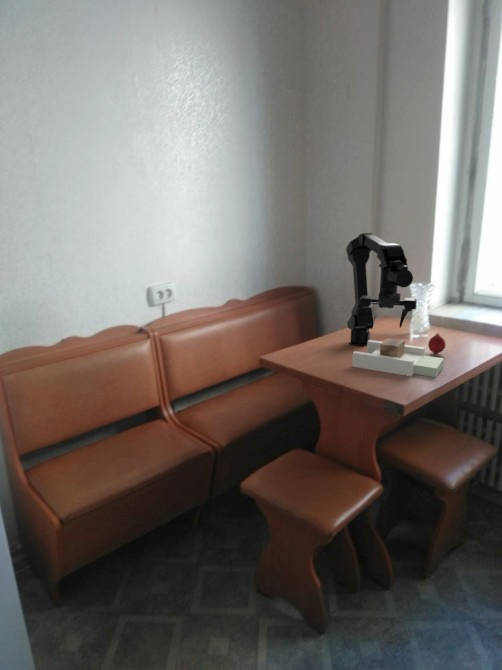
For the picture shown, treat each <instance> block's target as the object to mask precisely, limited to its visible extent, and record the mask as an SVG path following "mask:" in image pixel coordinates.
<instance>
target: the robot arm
mask: <svg viewBox="0 0 502 670" xmlns="http://www.w3.org/2000/svg"><path fill="white" fill-rule="evenodd" d="M345 252H346V255H347V260H348V261H349V263H350V264H351V266H352V273H353V274H352V276H353V288H354V289H353V290H354V302H355V303H354V306H353V307H352V310H351V315H350V318H349V319H348V321H347V323H346V324H347V328H348V329H349V330H350V341H349V342H348V345H353V346H360V347H367V341H368V340H371V332H370V329H371V330H372V329H373V328H374V325H375V320H376V317H375V316H376V315H375V309H374V305H378V308H380V309H385V308H387V309H393V308H394V306H401V307H402V312H401V315H400V321H399V328H401V327H402V326H403V323H404V320H405V318H406V317H407V314H408V313H409V312H412V311H413V310H416V309H417V301H418V299H416V298H415V297H404V299H401V293H400V292H399V293H398V287H399V288H408V287H409V286H411V284H412V283H413V280H414V276H413V273H412V272H411V271H410V270H408V268H409V266H408V259H407V257H406V255H405V251H404V248H403V247H402V245H401V244H399V243H391V242H387V241H385V240H383V239H382V238H380V237H379V236H376V235H375V233H372V232H362V233H360V234H358V236H357V237H355V238H354V239H352V240H351V241H350V242H349V243H347V246H346V248H345ZM371 252H373V253H376V258H377V259H378V260H379V262H380V263H379V265H378V268H380V283H379V293H378V298H373V295H369V294H368V279H367V277H368V276H367V263H368V261H369V259H370V256H371Z"/></svg>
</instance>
